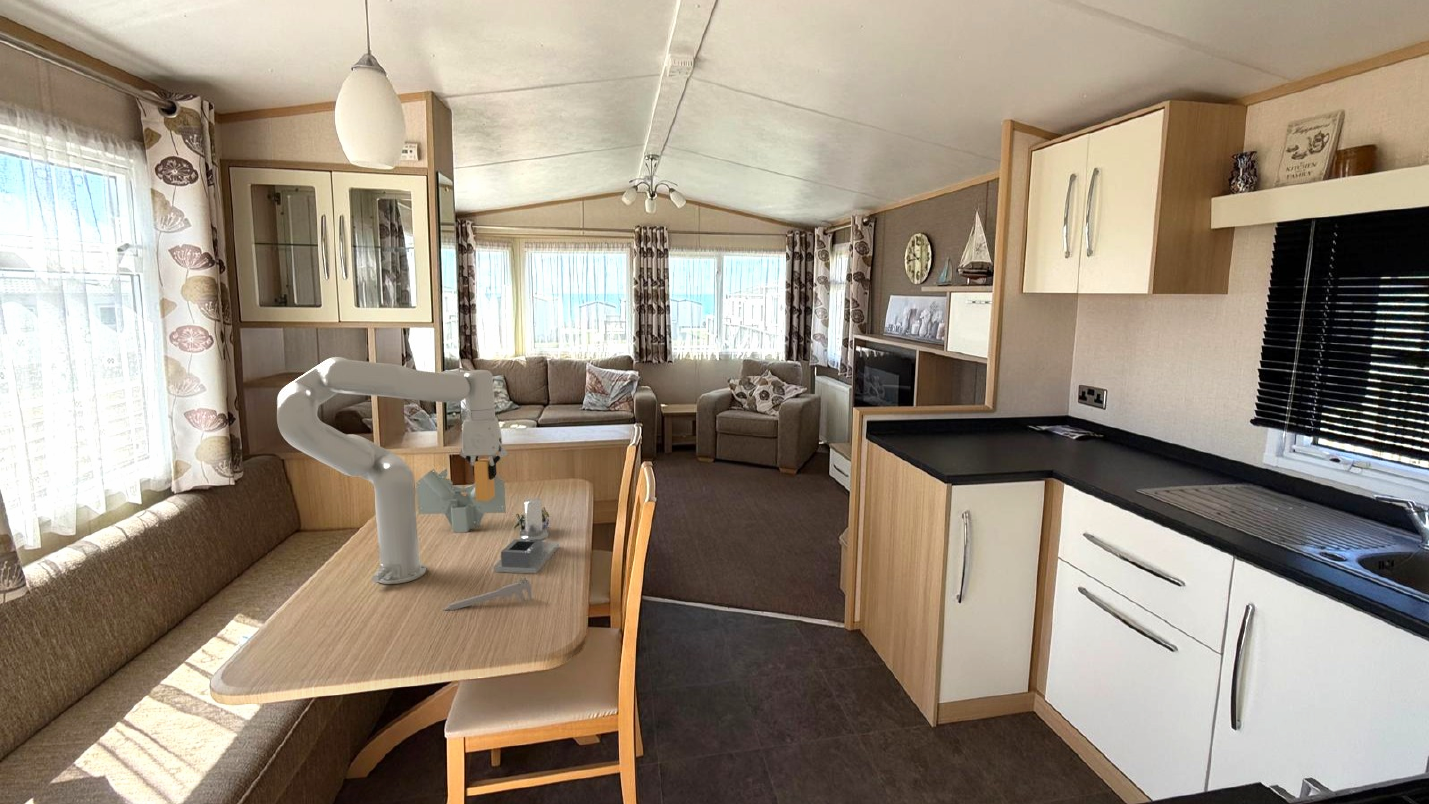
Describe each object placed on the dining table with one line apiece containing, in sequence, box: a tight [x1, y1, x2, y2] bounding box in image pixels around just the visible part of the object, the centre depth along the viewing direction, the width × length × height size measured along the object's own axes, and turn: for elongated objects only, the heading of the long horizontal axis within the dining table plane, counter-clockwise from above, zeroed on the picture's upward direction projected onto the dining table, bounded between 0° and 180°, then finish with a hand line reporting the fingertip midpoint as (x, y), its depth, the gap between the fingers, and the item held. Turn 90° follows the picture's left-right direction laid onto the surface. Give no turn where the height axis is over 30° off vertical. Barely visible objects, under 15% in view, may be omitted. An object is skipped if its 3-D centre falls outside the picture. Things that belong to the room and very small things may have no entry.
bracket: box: [415, 467, 507, 533], centre depth 214 cm, size 28×7×20 cm, turn 93°
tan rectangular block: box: [474, 458, 495, 501], centre depth 189 cm, size 5×4×11 cm
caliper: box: [443, 576, 533, 611], centre depth 163 cm, size 20×1×6 cm, turn 106°
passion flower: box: [513, 507, 550, 535], centre depth 210 cm, size 11×11×12 cm
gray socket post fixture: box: [493, 497, 560, 575], centre depth 190 cm, size 19×12×16 cm, turn 174°
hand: (485, 477), depth 190 cm, fingers closed on tan rectangular block, 3 cm apart
